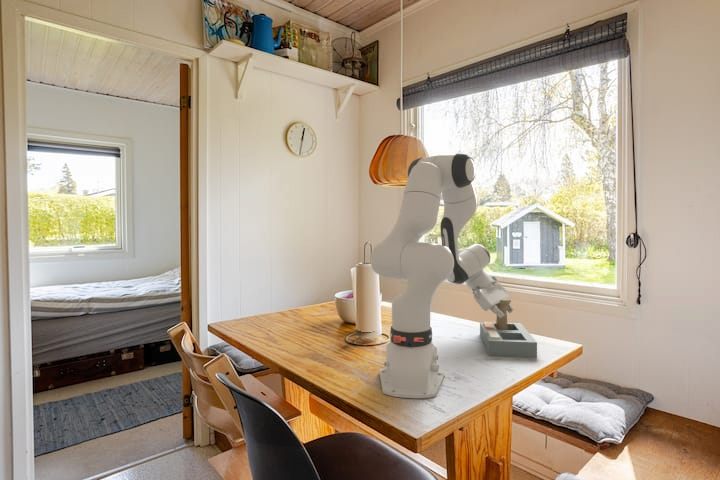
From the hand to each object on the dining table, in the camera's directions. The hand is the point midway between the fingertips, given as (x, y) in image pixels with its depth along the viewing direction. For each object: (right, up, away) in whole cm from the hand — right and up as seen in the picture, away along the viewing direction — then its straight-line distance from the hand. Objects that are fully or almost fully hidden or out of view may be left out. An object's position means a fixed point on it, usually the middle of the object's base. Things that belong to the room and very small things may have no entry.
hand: (507, 314), depth 148 cm
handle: (-1, -10, +3) cm, 10 cm away
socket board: (-1, -10, -5) cm, 11 cm away
